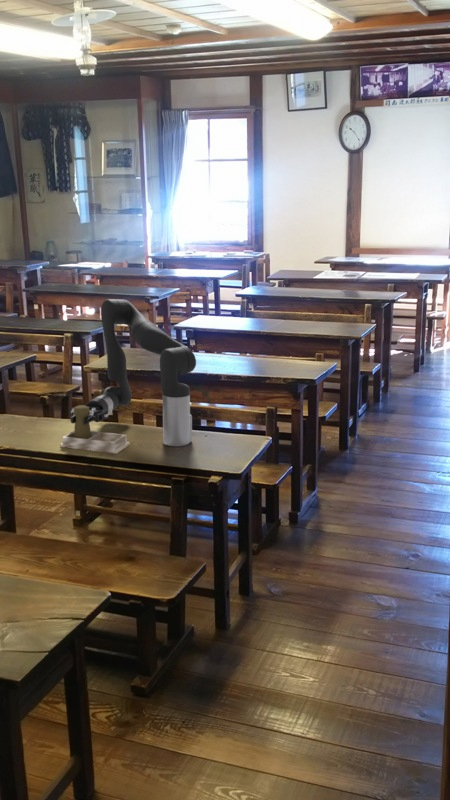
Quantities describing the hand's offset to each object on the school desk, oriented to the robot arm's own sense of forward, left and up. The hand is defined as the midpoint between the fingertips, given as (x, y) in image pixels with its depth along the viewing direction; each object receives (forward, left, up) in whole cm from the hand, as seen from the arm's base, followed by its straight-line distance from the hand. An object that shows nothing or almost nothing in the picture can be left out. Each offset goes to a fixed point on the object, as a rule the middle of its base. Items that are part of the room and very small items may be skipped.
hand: (78, 421), depth 264 cm
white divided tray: (-4, +3, -9) cm, 10 cm away
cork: (-3, -1, -7) cm, 7 cm away
